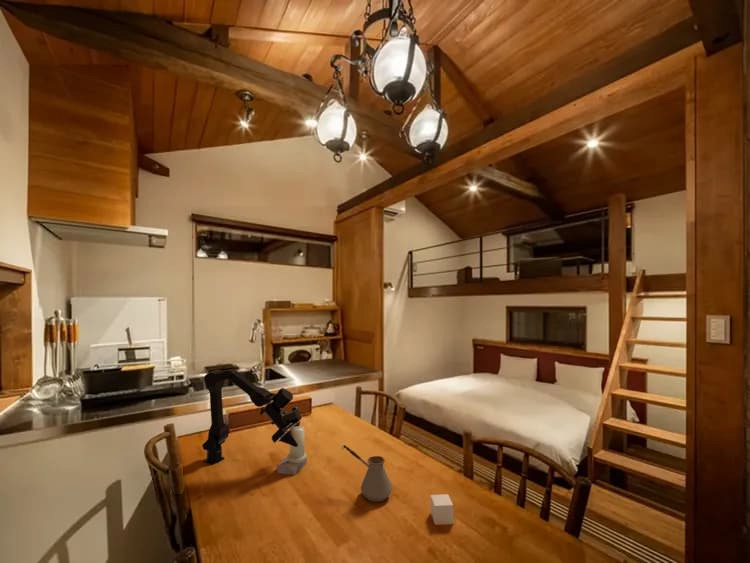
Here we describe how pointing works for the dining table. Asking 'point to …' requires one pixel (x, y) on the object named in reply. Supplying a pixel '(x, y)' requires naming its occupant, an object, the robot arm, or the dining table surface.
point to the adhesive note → (441, 509)
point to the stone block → (289, 467)
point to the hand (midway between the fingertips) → (300, 443)
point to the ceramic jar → (297, 452)
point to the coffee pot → (374, 478)
